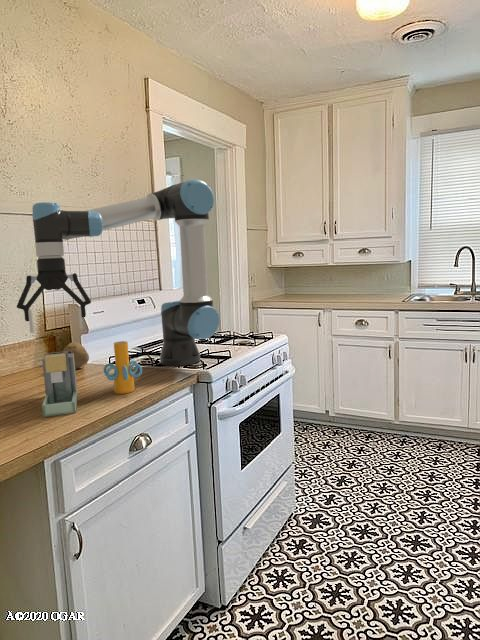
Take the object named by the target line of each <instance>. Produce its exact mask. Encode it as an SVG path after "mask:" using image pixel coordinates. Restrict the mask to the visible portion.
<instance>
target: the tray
mask: <svg viewBox="0 0 480 640" xmlns="http://www.w3.org/2000/svg"><path fill="white" fill-rule="evenodd" d="M77 405H78V399H77V396H76V392H73V398H72V402H67V401H66V402H58V403H55V404H49V396H48V395H46V394H45V397H44V400H43V402H42V404H41V410H42V417H43V418H45V417H46V418H47V417H54V416H63V415H70V414H76V412H77Z"/></svg>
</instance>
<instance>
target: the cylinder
mask: <svg viewBox="0 0 480 640" xmlns="http://www.w3.org/2000/svg"><path fill="white" fill-rule="evenodd" d="M113 350H114V362H115V364H114V363H107V364H105V365H104V367H103V373H104V375H105V376H106V378H107V380H108V381H113V390H114V394H118V395H125V394H129V393H133V392H135V390H136V389H135V378H138V377H140V376H142V374H143V368H142V366H141V365H140V364H139V363H138V362H137V361H136V360H130V357H129V344H128V341H126V340H123V341H122V340H120V341H116V342H115V341H114V342H113ZM133 367H134V370H133V371H132V368H133ZM112 369H114V372H113V374H111V373H110V371H112ZM138 369H139V373H137V372H138ZM136 373H137V374H136Z"/></svg>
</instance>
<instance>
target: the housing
mask: <svg viewBox="0 0 480 640" xmlns="http://www.w3.org/2000/svg"><path fill="white" fill-rule="evenodd" d="M62 352H63V351H62ZM50 353H51V352H49V353H44V354H43V358H42V369H43V372H42V373H43V381H44V389H45V396H46V395H48V396H49V404H55V403H58V402H66V401H67V402H72V398H73V392H76V396H77V400H78V397H79V395H78V386H77V385H78V383H77V375H76V374H77V373H76V369H75V362H74V353H70V354H68V352H63V353H66V361H67V370H66V371H65V376H64V379H63V382H57V383H51V372H48V373H46V366H45V356H46V355H50Z"/></svg>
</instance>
